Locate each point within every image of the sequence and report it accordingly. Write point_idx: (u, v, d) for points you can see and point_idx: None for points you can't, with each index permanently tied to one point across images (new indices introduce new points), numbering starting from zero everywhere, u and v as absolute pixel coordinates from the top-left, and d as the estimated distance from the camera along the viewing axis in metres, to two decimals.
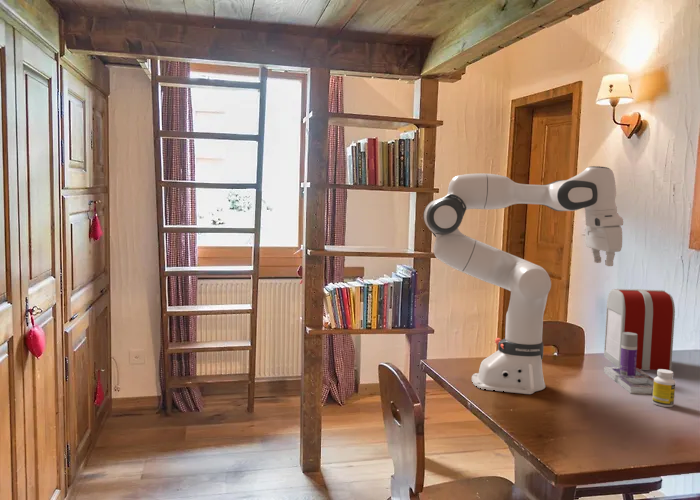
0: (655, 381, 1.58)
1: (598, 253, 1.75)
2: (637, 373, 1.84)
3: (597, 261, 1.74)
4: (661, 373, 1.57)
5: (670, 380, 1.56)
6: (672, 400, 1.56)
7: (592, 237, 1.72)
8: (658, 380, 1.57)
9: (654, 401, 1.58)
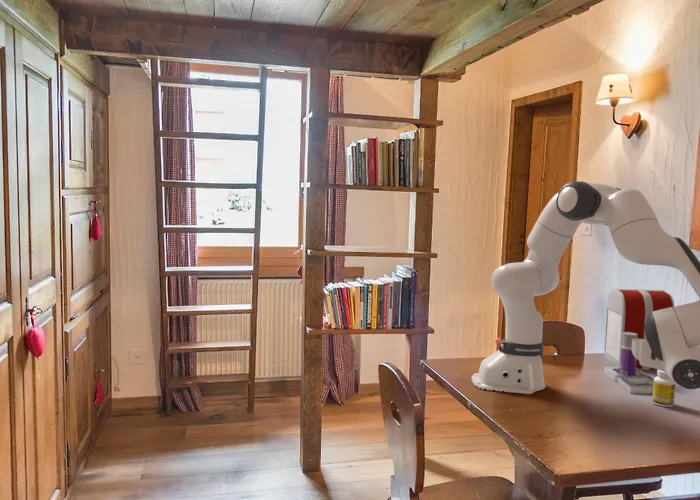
0: (655, 381, 1.58)
1: None
2: (637, 373, 1.84)
3: None
4: (661, 373, 1.57)
5: (670, 380, 1.56)
6: (672, 400, 1.56)
7: None
8: (658, 380, 1.57)
9: (654, 401, 1.58)
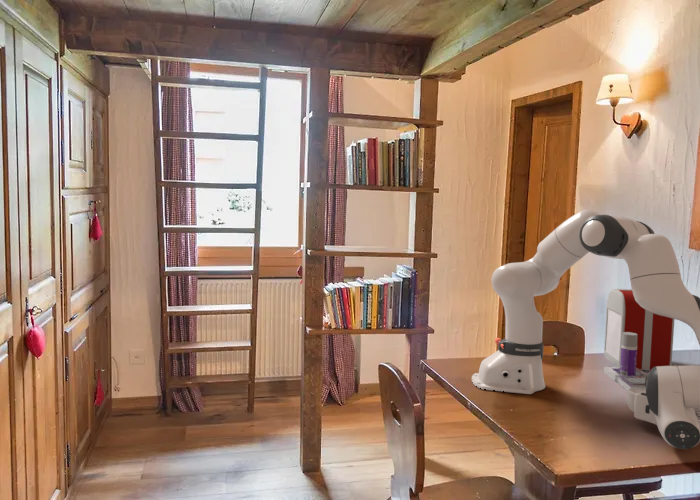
0: None
1: None
2: (637, 373, 1.84)
3: None
4: None
5: None
6: None
7: None
8: None
9: None
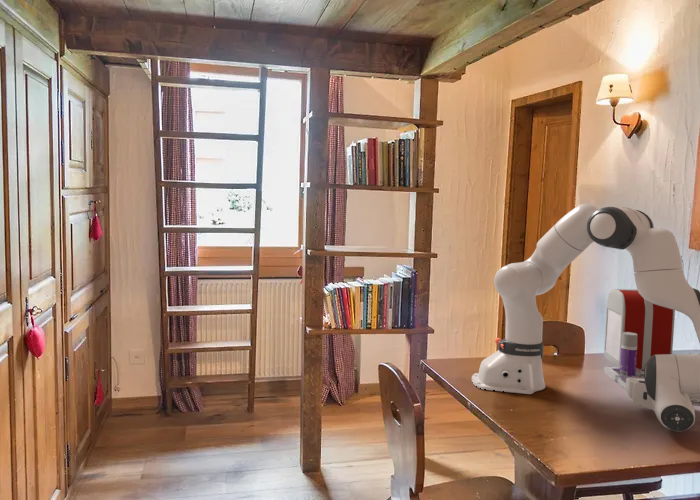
0: None
1: None
2: (637, 373, 1.84)
3: None
4: None
5: None
6: None
7: None
8: None
9: None
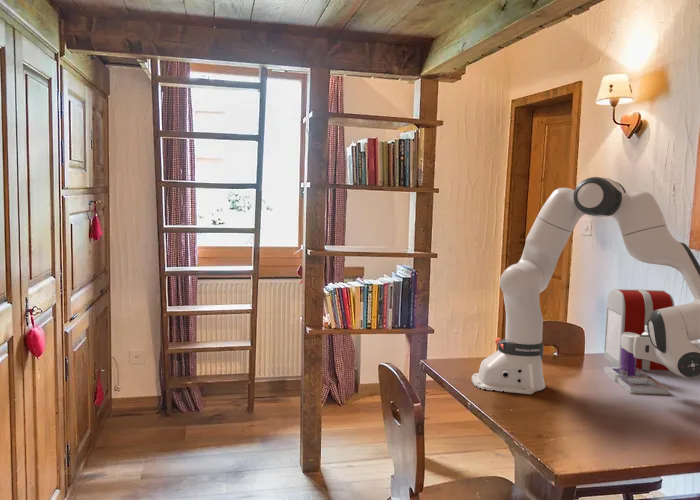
0: None
1: None
2: (637, 373, 1.84)
3: None
4: None
5: None
6: None
7: None
8: None
9: None
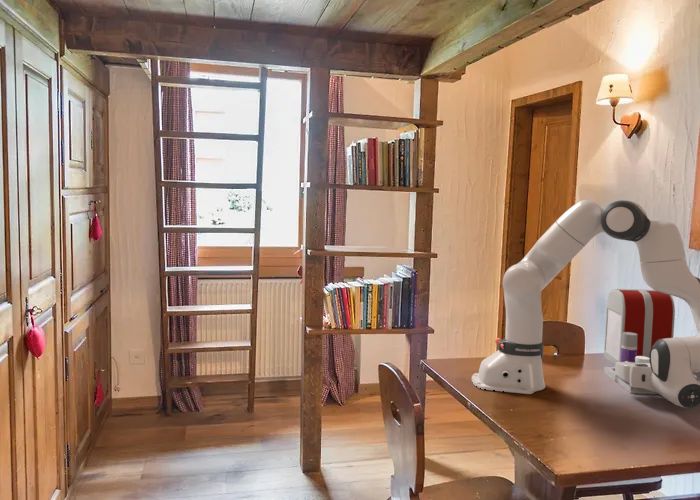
0: None
1: None
2: None
3: None
4: (641, 360, 1.70)
5: None
6: None
7: None
8: None
9: None
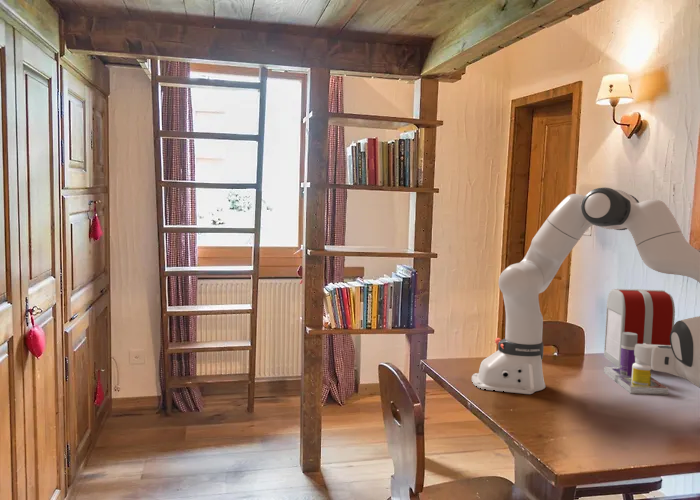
0: (635, 368, 1.71)
1: None
2: None
3: None
4: None
5: (648, 365, 1.71)
6: (650, 383, 1.71)
7: None
8: (638, 366, 1.71)
9: None
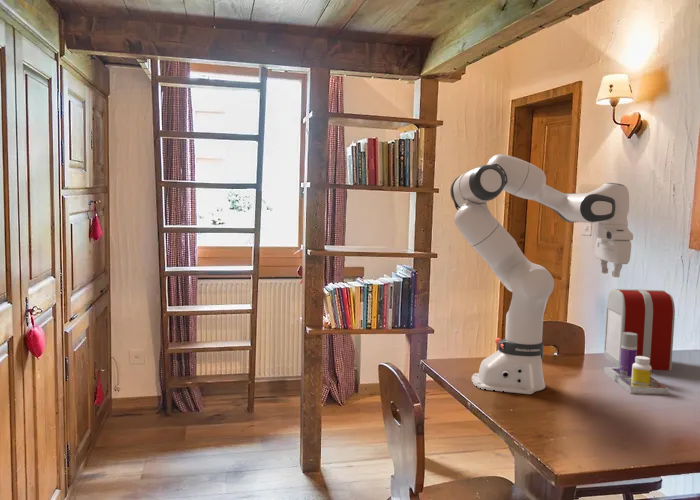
0: (635, 368, 1.71)
1: (606, 264, 1.86)
2: None
3: (604, 272, 1.85)
4: (641, 360, 1.70)
5: (648, 365, 1.71)
6: (650, 383, 1.71)
7: (602, 249, 1.84)
8: (638, 366, 1.71)
9: None
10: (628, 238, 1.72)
